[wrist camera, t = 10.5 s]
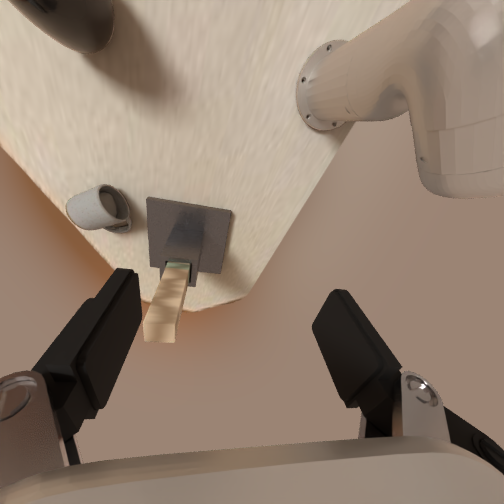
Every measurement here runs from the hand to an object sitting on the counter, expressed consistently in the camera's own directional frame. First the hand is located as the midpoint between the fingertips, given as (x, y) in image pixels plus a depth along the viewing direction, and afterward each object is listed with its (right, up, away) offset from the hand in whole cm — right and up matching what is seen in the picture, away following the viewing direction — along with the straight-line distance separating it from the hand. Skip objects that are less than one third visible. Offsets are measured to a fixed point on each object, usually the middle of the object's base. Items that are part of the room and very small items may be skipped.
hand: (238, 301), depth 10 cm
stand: (-15, +6, +40) cm, 43 cm away
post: (-14, +1, +33) cm, 36 cm away
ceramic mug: (-30, +12, +34) cm, 47 cm away
